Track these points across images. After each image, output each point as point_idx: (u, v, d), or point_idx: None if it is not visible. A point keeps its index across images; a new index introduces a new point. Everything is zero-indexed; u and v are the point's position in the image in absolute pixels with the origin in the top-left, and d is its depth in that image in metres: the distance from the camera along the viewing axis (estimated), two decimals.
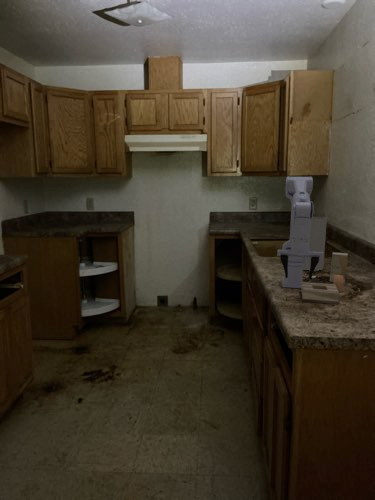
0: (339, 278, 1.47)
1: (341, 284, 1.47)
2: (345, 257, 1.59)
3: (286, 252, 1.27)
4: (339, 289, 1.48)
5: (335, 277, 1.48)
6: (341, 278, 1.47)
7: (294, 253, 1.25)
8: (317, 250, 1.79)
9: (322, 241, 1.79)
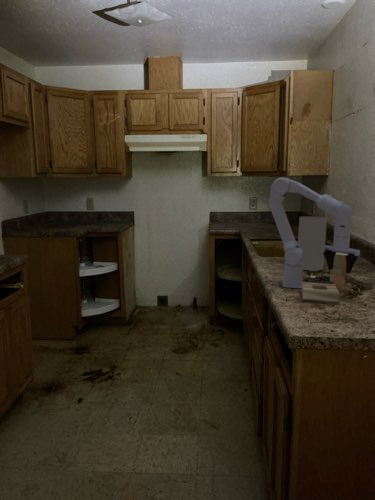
0: (339, 278, 1.47)
1: (341, 284, 1.47)
2: None
3: (328, 247, 1.49)
4: (339, 289, 1.48)
5: (335, 277, 1.48)
6: (341, 278, 1.47)
7: (333, 249, 1.46)
8: (317, 250, 1.79)
9: (322, 241, 1.79)
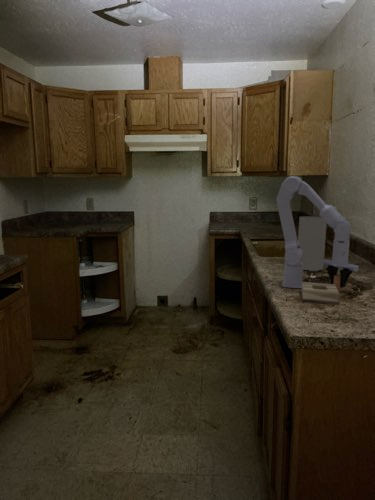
0: (339, 278, 1.47)
1: None
2: None
3: (327, 262, 1.50)
4: (339, 289, 1.48)
5: (335, 277, 1.48)
6: None
7: (331, 264, 1.47)
8: (317, 250, 1.79)
9: (322, 241, 1.79)
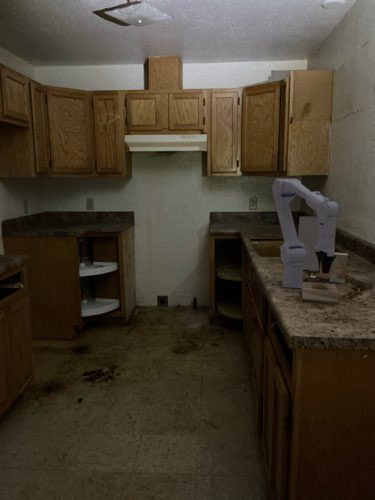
0: None
1: None
2: (345, 257, 1.59)
3: None
4: (323, 275, 1.38)
5: (320, 262, 1.39)
6: None
7: None
8: (317, 250, 1.79)
9: None
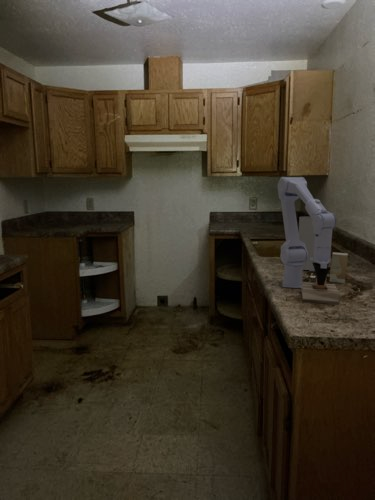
0: None
1: None
2: (345, 257, 1.59)
3: None
4: (318, 287, 1.38)
5: None
6: None
7: None
8: None
9: None
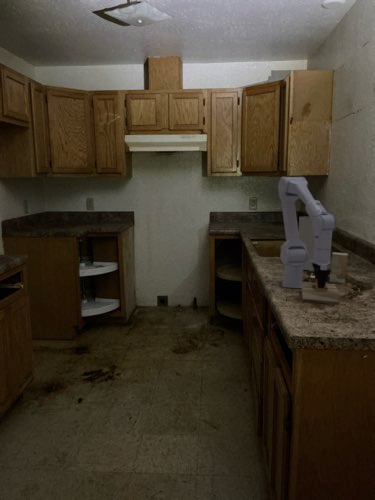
0: None
1: (320, 288, 1.38)
2: (345, 257, 1.59)
3: None
4: None
5: (316, 280, 1.39)
6: None
7: None
8: None
9: None
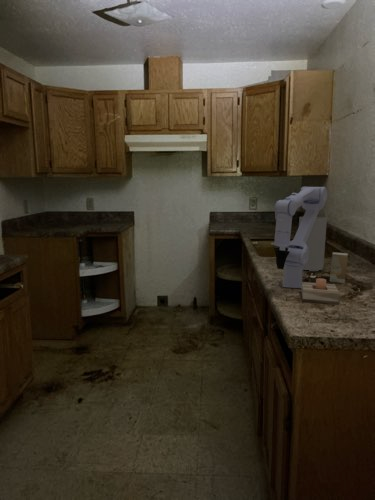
0: (318, 281, 1.38)
1: (320, 288, 1.38)
2: (345, 257, 1.59)
3: None
4: None
5: (316, 280, 1.39)
6: (320, 282, 1.37)
7: None
8: (317, 250, 1.79)
9: (322, 241, 1.79)
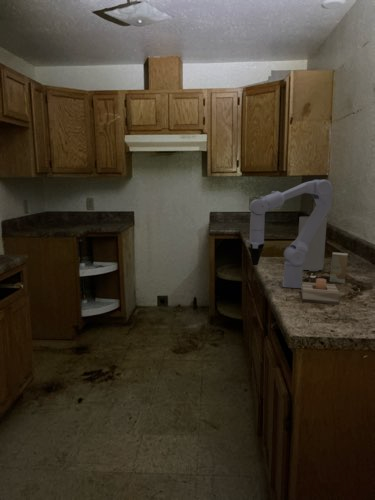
0: (318, 281, 1.38)
1: (320, 288, 1.38)
2: (345, 257, 1.59)
3: None
4: None
5: (316, 280, 1.39)
6: (320, 282, 1.37)
7: None
8: (317, 250, 1.79)
9: (322, 241, 1.79)
